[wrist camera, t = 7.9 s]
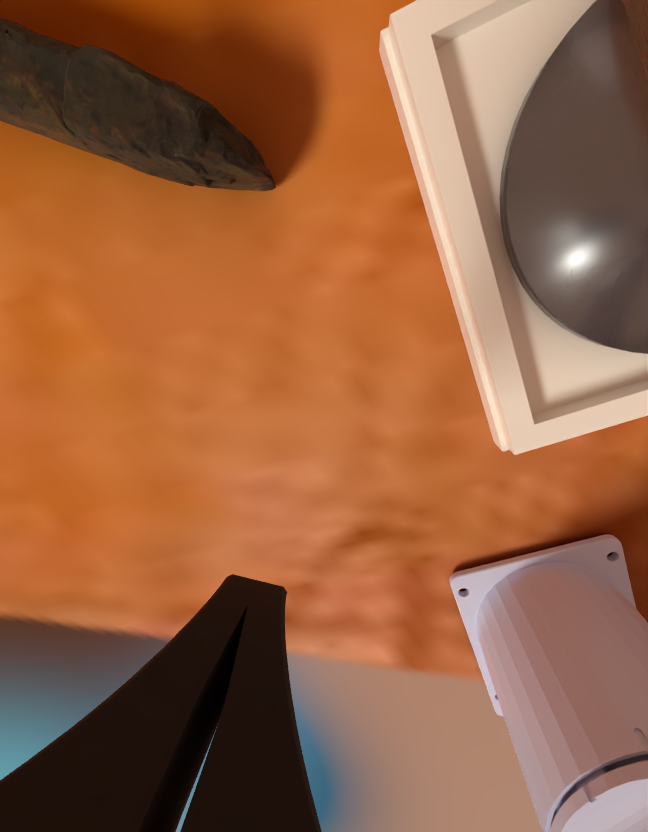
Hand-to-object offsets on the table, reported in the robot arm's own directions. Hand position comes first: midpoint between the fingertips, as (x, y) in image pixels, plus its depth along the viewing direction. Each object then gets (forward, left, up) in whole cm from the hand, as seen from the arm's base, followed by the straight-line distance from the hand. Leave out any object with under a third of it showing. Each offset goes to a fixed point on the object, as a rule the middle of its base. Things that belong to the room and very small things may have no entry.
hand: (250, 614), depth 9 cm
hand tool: (+18, +4, -11) cm, 21 cm away
